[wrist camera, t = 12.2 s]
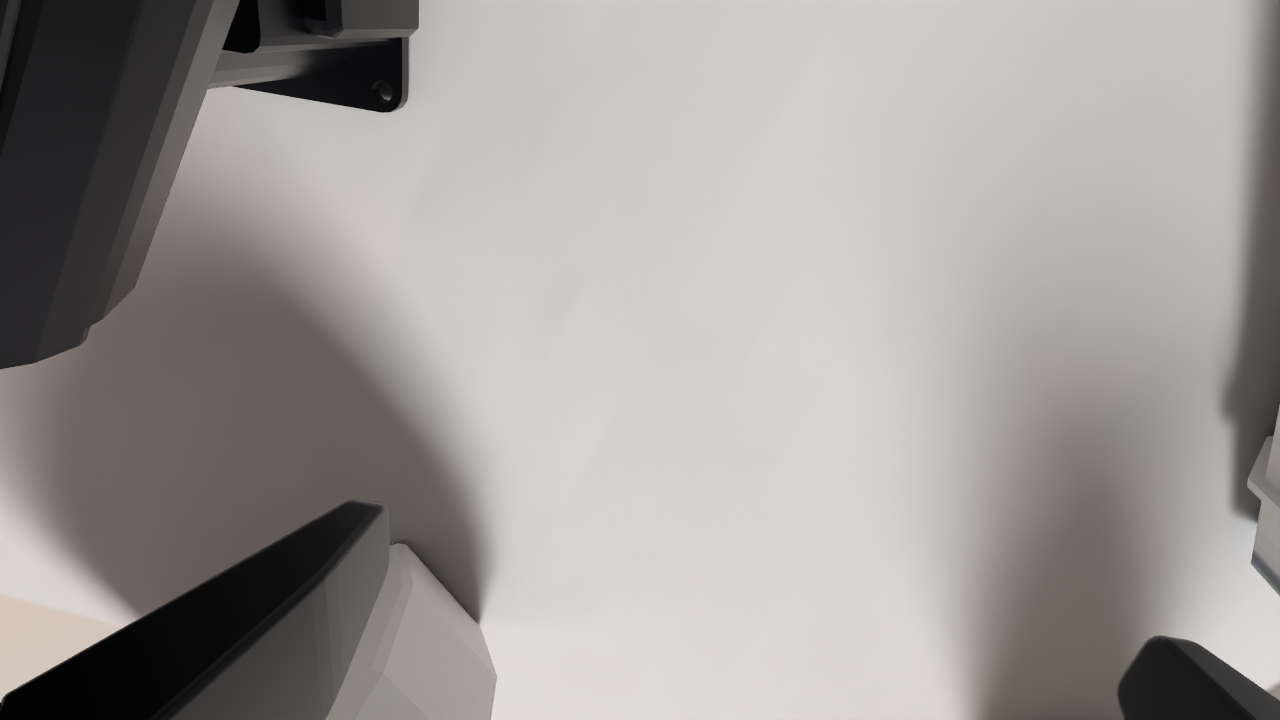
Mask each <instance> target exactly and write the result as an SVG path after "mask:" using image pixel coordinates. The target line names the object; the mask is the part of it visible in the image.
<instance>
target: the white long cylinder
mask: <svg viewBox="0 0 1280 720" xmlns="http://www.w3.org/2000/svg"><path fill="white" fill-rule="evenodd" d="M1247 487H1248V488H1249V489H1250V490H1251V491H1252V492H1253V493H1254V494H1255V495H1256V496H1257V497H1258V498H1259V499H1260V500H1261V507H1260V513H1259V519H1258V525H1257V531H1256V536H1255V542H1254V548H1253V554H1252V560H1251V564H1252V565H1253V567H1254V568H1255V569H1256V570H1257V571H1258V572H1259V573H1260V574H1261V576H1262V577H1263V578H1264V579H1265V580H1266V581H1267V582H1268V583H1269V585H1270V586H1271V587H1272V588H1273V589H1274V590H1275V591H1276V592H1277V593H1278V595H1279V596H1280V406H1279V411H1278V417H1277V422H1276V427H1275V432H1274V435H1273V436H1268V437H1266V440H1265V442H1264V444H1263V446H1262V448H1261V451H1260V453H1259V455H1258V457H1257V459H1256V462H1255V464H1254V466H1253V468H1252V470H1251V473H1250V475H1249V477H1248V482H1247Z"/></svg>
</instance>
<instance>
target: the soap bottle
mask: <svg viewBox="0 0 1280 720" xmlns="http://www.w3.org/2000/svg"><path fill="white" fill-rule="evenodd" d="M496 679H497V676H496V673H495V670H494V667H493V664H492V661H491V657H490V654H489V651H488V648H487V645H486V642H485V639H484V636H483V633H482V630H481V628H480V627H479V625H478V624H477V623H476V622H475V621H474V620H473V619H472V618H471V616H470V615H469V614H468V613H467V612H466V611H465V610H464V609H463V607H462V606H461V605H460V604H459V603H458V602H457V601H456V600H455V598H454V597H453V596H452V595H451V594H450V593H449V592H448V591H447V590H446V588H445V587H444V586H443V585H442V584H441V583H440V582H439V581H438V579H437V578H436V577H435V576H434V575H433V574H432V573H431V572H430V570H429V569H428V568H427V567H426V566H425V565H424V564H423V563H422V562H421V560H420V559H419V558H418V557H417V556H416V555H415V554H414V553H413V551H412V550H411V549H410V548H409V547H408V546H407V545H406V544H399V543H396V544H394V545H392V546H390V561H389V567H388V572H387V575H386V578H385V581H384V583H383V586H382V588H381V590H380V593H379V595H378V598H377V600H376V603H375V605H374V608H373V610H372V613H371V615H370V618H369V620H368V622H367V625H366V627H365V630H364V632H363V635H362V637H361V640H360V642H359V645H358V647H357V650H356V652H355V654H354V657H353V659H352V662H351V664H350V667H349V669H348V672H347V674H346V677H345V679H344V681H343V684H342V686H341V688H340V691H339V693H338V695H337V698H336V700H335V702H334V704H333V706H332V708H331V710H330V712H329V714H328V716H327V718H326V720H491V714H492V707H493V700H494V693H495V686H496Z"/></svg>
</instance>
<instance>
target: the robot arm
mask: <svg viewBox="0 0 1280 720" xmlns="http://www.w3.org/2000/svg"><path fill="white" fill-rule="evenodd" d="M418 26H419V0H0V369H4V368H9V367H15V366H21V365H26V364H32V363H35V362H38V361H41V360H43V359H46V358H49V357H51V356H54V355H56V354H59V353H62V352H64V351H67V350H69V349H72V348H75V347H77V346H79V345H80V344H82V343H83V342H84V341H85V340H86V338H87V335H88V332H89V329H90V326H91V325H93V324H95V323H96V322H98V321H100V320H102V319H103V318H104V317H105V316H106V315H107V314H108V313H109V312H110V311H111V310H112V309H113V308H114V307H115V306H116V305H117V304H118V303H119V302H120V301H121V300H122V299H123V298H124V297H125V296H126V295H127V294H128V293H129V292H130V291H131V290H132V289H133V288H134V287H135V285H136V282H137V279H138V277H139V274H140V271H141V268H142V266H143V263H144V260H145V257H146V255H147V252H148V249H149V247H150V244H151V241H152V238H153V236H154V233H155V230H156V227H157V225H158V222H159V219H160V217H161V214H162V211H163V208H164V206H165V203H166V200H167V198H168V195H169V192H170V189H171V187H172V184H173V181H174V178H175V176H176V173H177V170H178V168H179V165H180V162H181V159H182V157H183V154H184V151H185V148H186V146H187V143H188V140H189V138H190V135H191V132H192V129H193V127H194V124H195V121H196V119H197V116H198V113H199V110H200V108H201V105H202V102H203V99H204V97H205V94H206V91H207V89H211V88H219V87H227V86H233V87H238V88H244V89H250V90H256V91H261V92H267V93H273V94H279V95H284V96H290V97H296V98H302V99H307V100H313V101H319V102H325V103H330V104H336V105H342V106H348V107H354V108H359V109H365V110H371V111H377V112H382V113H383V112H393V111H396V110H398V109H400V108H402V107H403V106H404V104H405V103H406V102H407V98H408V37H409V36H410V35H411V34H413V33H414V32H415V31H416V30H417V29H418ZM381 81H385V82H387V83H388V84H389V85H390V87H391V89H392V97H391V99H390V100H389V101H388V100H386V99H384V98H383V97H382V96H381V95H380V92H379V84H380V82H381ZM389 561H390V533H389V512H388V509H387V507H386V506H385V505H383V504H381V503H376V502H370V501H364V500H358V499H352V500H349V501H347V502H345V503H343V504H341V505H339V506H337V507H336V508H334V509H332V510H330V511H329V512H327V513H325V514H323V515H322V516H320V517H318V518H316V519H314V520H313V521H311V522H309V523H307V524H306V525H304V526H302V527H300V528H299V529H297V530H295V531H293V532H291V533H290V534H288V535H286V536H284V537H283V538H281V539H279V540H277V541H276V542H274V543H272V544H270V545H269V546H267V547H265V548H263V549H261V550H260V551H258V552H256V553H254V554H253V555H251V556H249V557H247V558H246V559H244V560H242V561H240V562H238V563H237V564H235V565H233V566H231V567H230V568H228V569H226V570H224V571H223V572H221V573H219V574H217V575H215V576H214V577H212V578H210V579H208V580H207V581H205V582H203V583H201V584H200V585H198V586H196V587H194V588H193V589H191V590H189V591H187V592H185V593H184V594H182V595H180V596H178V597H177V598H175V599H173V600H171V601H170V602H168V603H166V604H164V605H162V606H161V607H159V608H157V609H155V610H154V611H152V612H150V613H148V614H147V615H145V616H143V617H141V618H140V619H138V620H136V621H134V622H132V623H131V624H129V625H127V626H125V627H124V628H122V629H120V630H118V631H117V632H115V633H113V634H111V635H109V636H108V637H106V638H104V639H103V640H101V641H99V642H97V643H95V644H94V645H92V646H90V647H88V648H86V649H85V650H83V651H81V652H80V653H78V654H76V655H74V656H72V657H71V658H69V659H67V660H65V661H64V662H62V663H60V664H58V665H56V666H55V667H53V668H51V669H50V670H48V671H46V672H44V673H42V674H41V675H39V676H37V677H35V678H34V679H32V680H30V681H29V682H26V683H25V684H23V685H21V686H19V687H18V688H16V689H14V690H13V691H10V692H9V693H7V694H6V695H5V696H4V697H3V699H2V701H1V703H0V720H326V718H327V716H328V714H329V712H330V710H331V708H332V706H333V704H334V702H335V700H336V698H337V695H338V693H339V691H340V688H341V686H342V684H343V681H344V679H345V677H346V674H347V672H348V669H349V667H350V664H351V662H352V659H353V657H354V654H355V652H356V650H357V647H358V645H359V642H360V640H361V637H362V635H363V632H364V630H365V627H366V625H367V622H368V620H369V618H370V615H371V613H372V610H373V608H374V605H375V603H376V600H377V598H378V595H379V593H380V590H381V588H382V586H383V583H384V581H385V578H386V575H387V572H388V567H389ZM1117 698H1118V703H1119V707H1120V709H1121V712H1122V715H1123V718H1124V720H1280V701H1279V700H1278V699H1277V698H1275V697H1274V696H1272V695H1271V694H1269V693H1268V692H1267V691H1265V690H1264V689H1262V688H1261V687H1259V686H1258V685H1257V684H1255V683H1254V682H1252V681H1251V680H1249V679H1248V678H1247V677H1245V676H1244V675H1242V674H1241V673H1239V672H1238V671H1236V670H1235V669H1234V668H1232V667H1231V666H1229V665H1228V664H1226V663H1225V662H1224V661H1222V660H1221V659H1219V658H1218V657H1216V656H1215V655H1214V654H1212V653H1211V652H1209V651H1208V650H1206V649H1205V648H1204V647H1202V646H1200V645H1199V644H1197V643H1195V642H1192V641H1189V640H1185V639H1179V638H1173V637H1167V636H1154V637H1152V638H1150V639H1148V640H1147V641H1146V642H1145V643H1144V645H1143V646H1142V648H1141V649H1140V651H1139V652H1138V654H1137V655H1136V656H1135V658H1134V659H1133V661H1132V662H1131V664H1130V665H1129V667H1128V668H1127V669H1126V671H1125V672H1124V674H1123V675H1122V677H1121V678H1120V680H1119V683H1118V686H1117Z"/></svg>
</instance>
